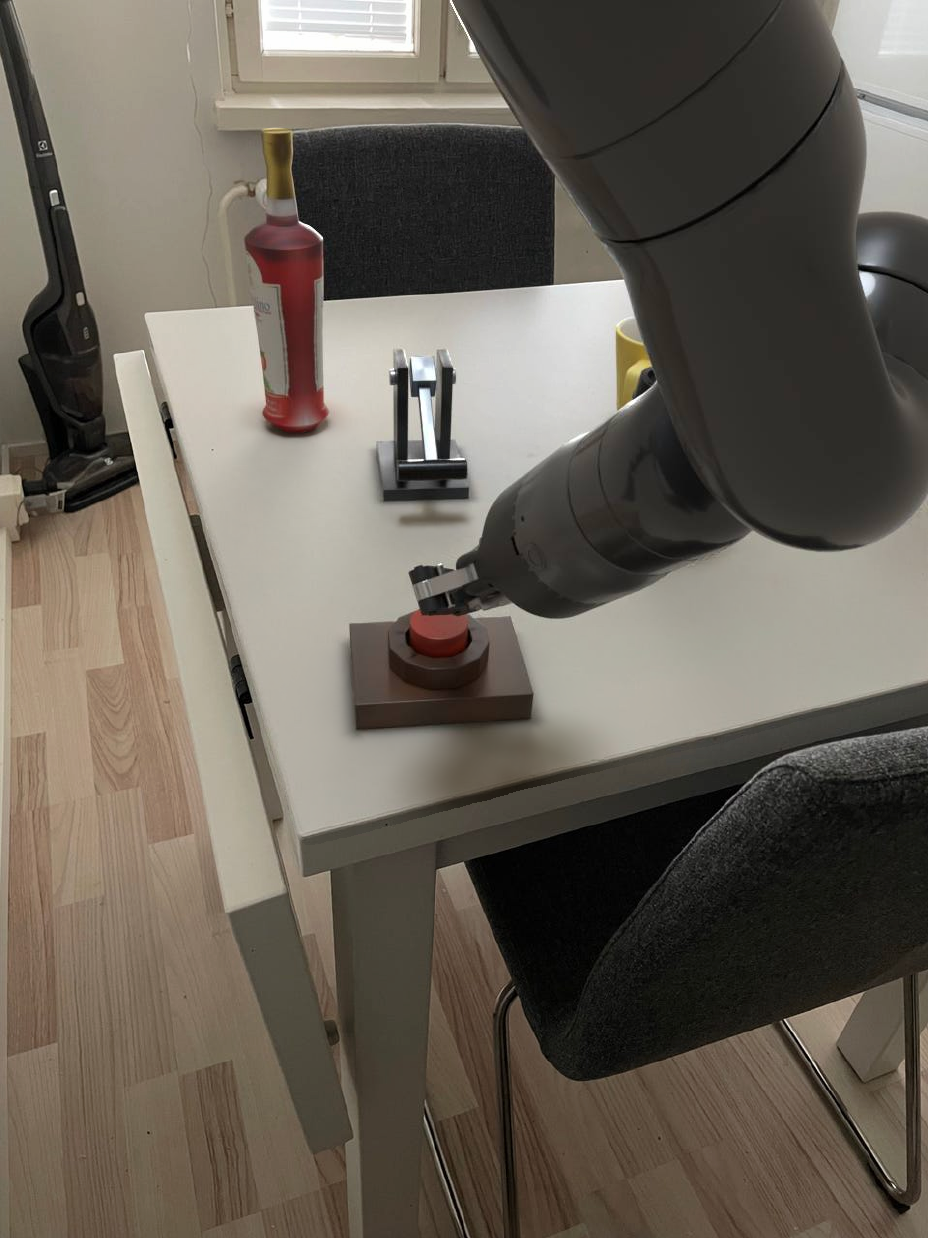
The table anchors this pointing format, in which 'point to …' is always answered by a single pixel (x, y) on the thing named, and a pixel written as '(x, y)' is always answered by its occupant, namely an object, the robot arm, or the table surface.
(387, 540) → the table surface
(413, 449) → the lever stand
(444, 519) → the table surface
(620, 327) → the mug
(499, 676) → the button block
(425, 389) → the tap lever
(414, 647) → the button
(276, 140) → the liquor
